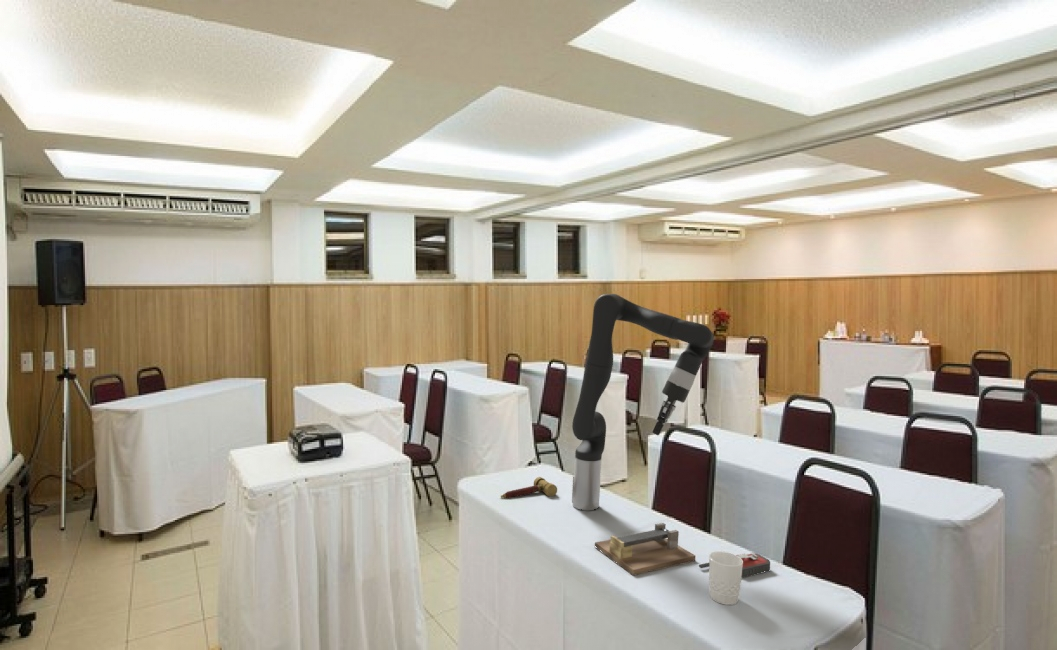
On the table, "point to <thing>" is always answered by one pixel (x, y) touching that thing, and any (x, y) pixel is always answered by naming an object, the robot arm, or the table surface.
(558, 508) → the table surface
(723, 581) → the white cup
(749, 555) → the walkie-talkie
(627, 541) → the strap
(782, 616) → the table surface
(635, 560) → the latch board
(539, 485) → the gavel
